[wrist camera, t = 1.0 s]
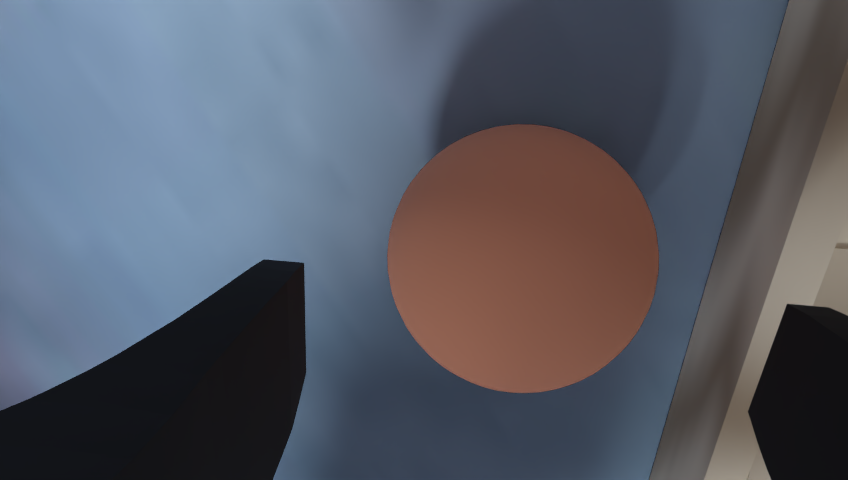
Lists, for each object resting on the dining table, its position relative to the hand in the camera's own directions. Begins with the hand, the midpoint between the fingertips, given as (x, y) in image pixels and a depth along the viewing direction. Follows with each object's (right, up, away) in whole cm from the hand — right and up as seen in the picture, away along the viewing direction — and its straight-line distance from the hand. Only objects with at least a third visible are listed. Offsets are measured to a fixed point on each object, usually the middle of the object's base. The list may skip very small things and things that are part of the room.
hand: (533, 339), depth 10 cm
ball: (0, +1, +3) cm, 3 cm away
